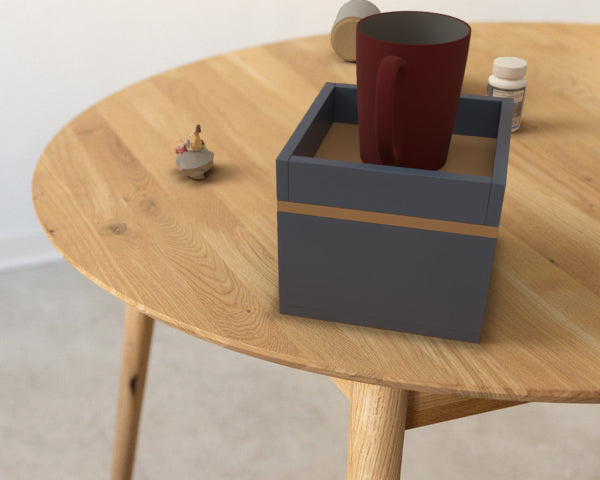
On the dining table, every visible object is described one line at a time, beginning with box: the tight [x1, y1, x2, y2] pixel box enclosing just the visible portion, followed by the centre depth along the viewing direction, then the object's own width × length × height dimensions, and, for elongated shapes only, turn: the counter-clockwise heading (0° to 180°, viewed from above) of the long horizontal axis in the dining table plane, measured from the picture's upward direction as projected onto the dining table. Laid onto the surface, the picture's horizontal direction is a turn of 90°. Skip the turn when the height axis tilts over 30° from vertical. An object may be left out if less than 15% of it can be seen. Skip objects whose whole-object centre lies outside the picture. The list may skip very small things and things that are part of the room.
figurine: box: [174, 123, 215, 181], centre depth 87 cm, size 5×4×6 cm
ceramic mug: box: [330, 0, 382, 63], centre depth 120 cm, size 11×8×8 cm
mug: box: [355, 10, 472, 171], centre depth 63 cm, size 12×9×11 cm
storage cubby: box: [275, 81, 514, 345], centre depth 68 cm, size 17×17×14 cm
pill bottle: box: [485, 55, 528, 133], centre depth 97 cm, size 5×5×8 cm
